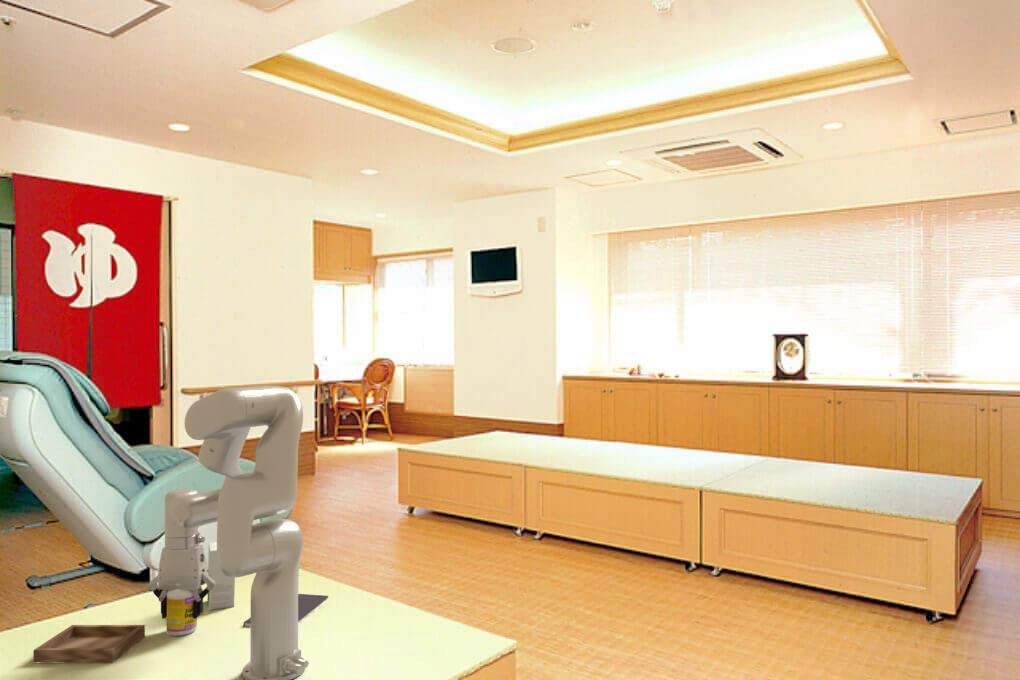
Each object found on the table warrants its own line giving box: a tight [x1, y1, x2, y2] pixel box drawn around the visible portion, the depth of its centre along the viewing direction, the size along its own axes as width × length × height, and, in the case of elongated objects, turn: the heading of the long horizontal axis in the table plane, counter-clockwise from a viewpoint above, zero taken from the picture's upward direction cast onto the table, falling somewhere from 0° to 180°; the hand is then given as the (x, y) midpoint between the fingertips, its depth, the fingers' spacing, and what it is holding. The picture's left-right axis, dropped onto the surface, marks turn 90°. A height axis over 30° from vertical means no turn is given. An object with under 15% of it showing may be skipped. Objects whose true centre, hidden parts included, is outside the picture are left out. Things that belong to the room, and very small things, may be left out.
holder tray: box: [32, 624, 146, 664], centre depth 164 cm, size 17×14×3 cm
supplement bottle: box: [166, 583, 198, 637], centre depth 174 cm, size 7×7×13 cm
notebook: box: [243, 593, 329, 627], centre depth 187 cm, size 13×2×21 cm
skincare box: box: [207, 541, 236, 611], centre depth 193 cm, size 8×7×16 cm
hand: (181, 615), depth 174 cm, fingers closed on supplement bottle, 6 cm apart
